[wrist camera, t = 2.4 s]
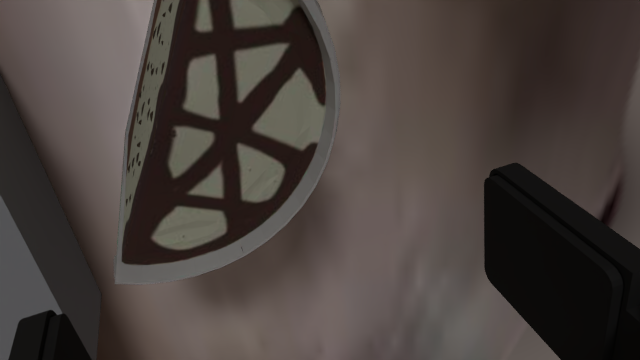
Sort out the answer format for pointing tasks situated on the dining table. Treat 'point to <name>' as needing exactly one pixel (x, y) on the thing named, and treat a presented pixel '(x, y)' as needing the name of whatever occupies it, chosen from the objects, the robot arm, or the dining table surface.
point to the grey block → (37, 243)
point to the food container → (223, 133)
